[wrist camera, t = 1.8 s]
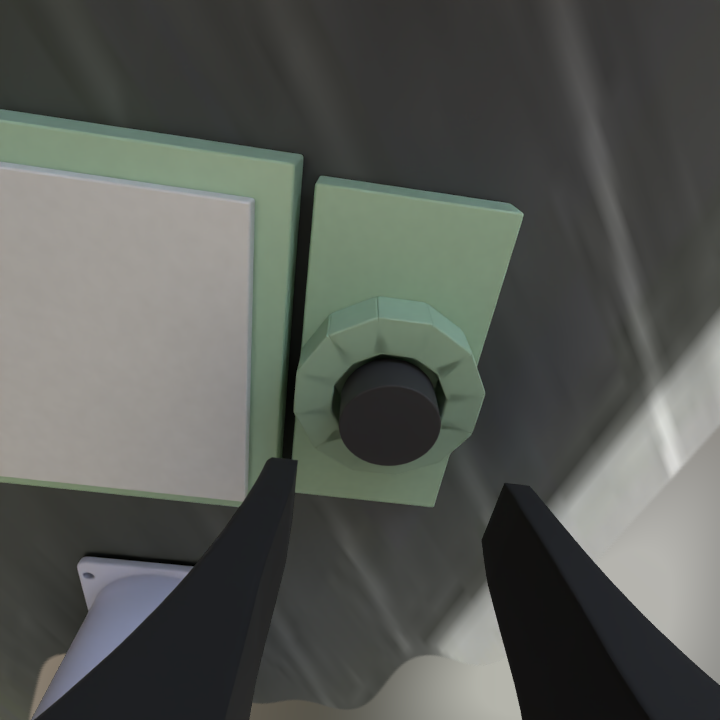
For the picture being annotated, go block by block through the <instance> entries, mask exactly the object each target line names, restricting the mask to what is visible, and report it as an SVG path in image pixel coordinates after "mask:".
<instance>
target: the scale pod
mask: <svg viewBox="0 0 720 720" xmlns="http://www.w3.org/2000/svg"><path fill="white" fill-rule="evenodd" d="M522 219H523V213H522V212H521V211H519V210H518V209H517V208H515V207H514V206H513V205H512V204H510V203H503V202H497V201H490V200H483V199H476V198H470V197H463V196H456V195H449V194H443V193H436V192H429V191H423V190H416V189H409V188H402V187H396V186H389V185H382V184H375V183H369V182H362V181H355V180H348V179H342V178H335V177H328V176H320V177H319V179H318V180H317V182H316V184H315V191H314V203H313V215H312V226H311V238H310V250H309V261H308V273H307V285H306V297H305V308H304V320H303V332H302V343H301V355H300V360H299V364H298V368H297V372H296V384H295V396H294V408H293V412H294V414H295V425H294V437H293V449H292V459H293V460H298V465H297V475H296V486H295V493H304V494H314V495H323V496H332V497H342V498H351V499H360V500H370V501H379V502H388V503H398V504H407V505H416V506H426V507H434V504H435V501H436V498H437V494H438V491H439V488H440V485H441V481H442V478H443V475H444V472H445V469H446V465H447V462H448V459H449V456H450V453H451V452H453V451H454V450H455V449H456V448H457V447H458V446H460V445H461V444H462V443H463V442H464V441H465V440H466V439H468V438H469V437H470V436H471V435H472V432H473V430H474V427H475V424H476V421H477V418H478V415H479V412H480V409H481V406H482V403H483V400H484V397H485V390H484V387H483V384H482V381H481V378H480V375H479V372H478V369H477V365H478V362H479V358H480V355H481V352H482V349H483V345H484V342H485V339H486V336H487V333H488V329H489V326H490V323H491V320H492V316H493V313H494V310H495V307H496V303H497V300H498V297H499V294H500V290H501V287H502V284H503V281H504V277H505V274H506V271H507V268H508V265H509V261H510V258H511V255H512V252H513V248H514V245H515V242H516V239H517V235H518V232H519V229H520V226H521V222H522ZM388 358H391V359H399V360H404V361H407V362H409V363H412V364H414V365H415V366H417V367H419V368H420V369H421V370H422V371H424V373H425V374H426V375H427V376H428V377H429V379H430V380H431V382H432V385H433V388H434V392H435V396H436V400H437V405H438V409H439V413H440V418H441V429H440V434H439V436H438V439H437V441H436V442H435V444H434V445H433V447H432V448H431V449H430V450H429V451H428V452H427V453H426V454H424V455H423V456H422V457H420V458H418V459H416V460H414V461H412V462H409V463H406V464H402V465H396V466H381V465H375V464H372V463H368V462H366V461H364V460H362V459H360V458H358V457H357V456H355V455H354V454H353V453H351V452H350V451H349V450H348V448H347V447H346V446H345V444H344V443H343V441H342V439H341V436H340V433H339V416H340V403H341V393H342V388H343V386H344V383H345V382H346V380H347V378H348V377H349V376H350V375H351V374H352V373H353V372H354V371H355V370H356V369H357V368H359V367H360V366H362V365H364V364H366V363H368V362H371V361H374V360H378V359H388Z"/></svg>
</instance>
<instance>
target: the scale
mask: <svg viewBox="0 0 720 720" xmlns="http://www.w3.org/2000/svg"><path fill="white" fill-rule="evenodd" d="M303 159H304V158H303V155H301V154H295V153H289V152H282V151H275V150H269V149H262V148H255V147H249V146H242V145H235V144H229V143H222V142H216V141H209V140H202V139H196V138H189V137H182V136H176V135H169V134H162V133H156V132H149V131H143V130H136V129H129V128H123V127H116V126H109V125H103V124H96V123H89V122H83V121H76V120H70V119H63V118H56V117H50V116H43V115H36V114H30V113H23V112H16V111H10V110H3V109H0V482H4V483H14V484H23V485H33V486H42V487H52V488H62V489H71V490H81V491H90V492H100V493H109V494H119V495H128V496H138V497H148V498H157V499H167V500H176V501H186V502H195V503H205V504H215V505H224V506H234V507H240V505H241V504H242V503H243V501H244V499H245V498H246V496H247V495H248V493H249V492H250V490H251V489H252V487H253V485H254V484H255V482H256V480H257V478H258V477H259V475H260V473H261V471H262V469H263V467H264V465H265V463H266V461H267V460H268V459H270V458H271V457H275V458H282V452H283V439H284V425H285V411H286V397H287V383H288V369H289V355H290V341H291V327H292V313H293V299H294V285H295V271H296V257H297V243H298V229H299V215H300V201H301V187H302V173H303Z"/></svg>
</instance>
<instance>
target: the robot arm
mask: <svg viewBox="0 0 720 720" xmlns="http://www.w3.org/2000/svg"><path fill="white" fill-rule="evenodd" d="M297 465H298V460H293V459H284V458H275V457H271V458H270V459H268V460H267V461H266V463H265V465H264V467H263V469H262V471H261V473H260V475H259V477H258V478H257V480H256V482H255V484H254V485H253V487H252V489H251V490H250V492H249V493H248V495H247V496H246V498H245V499H244V501H243V503H242V504H241V505H240V507H239V508H238V510H237V511H236V512H235V514H234V515H233V517H232V518H231V520H230V521H229V522H228V524H227V525H226V527H225V528H224V529H223V531H222V532H221V533H220V535H219V536H218V537H217V538H216V540H215V541H214V542H213V543H212V545H211V546H210V547H209V549H208V550H207V551H206V552H205V554H204V555H203V556H202V557H201V559H200V560H199V561H198V562H197V563H196V565H195V566H184V565H174V564H164V563H153V562H143V561H133V560H122V559H112V558H101V557H91V556H86V557H83V558H82V559H81V560H80V561H79V563H78V565H77V569H78V573H79V577H80V581H81V585H82V589H83V592H84V596H85V600H86V604H87V608H88V614H87V616H86V617H85V619H84V621H83V623H82V625H81V627H80V629H79V631H78V633H77V634H76V636H75V638H74V640H73V642H72V644H71V646H70V648H69V649H68V651H67V653H66V655H65V657H64V659H63V661H62V663H61V664H60V666H59V668H58V670H57V672H56V674H55V676H54V678H53V679H52V681H51V683H50V685H49V687H48V689H47V691H46V693H45V695H44V696H43V698H42V700H41V702H40V704H39V706H38V708H37V710H36V711H35V713H34V715H33V717H32V719H31V720H249V717H250V712H251V706H252V700H253V695H254V689H255V684H256V679H257V675H258V670H259V666H260V661H261V657H262V654H263V650H264V646H265V642H266V638H267V634H268V630H269V626H270V622H271V618H272V615H273V611H274V607H275V603H276V599H277V595H278V591H279V587H280V583H281V579H282V575H283V571H284V567H285V563H286V557H287V551H288V545H289V538H290V532H291V525H292V518H293V507H294V496H295V486H296V475H297ZM482 547H483V555H484V563H485V569H486V576H487V582H488V587H489V591H490V595H491V598H492V602H493V606H494V610H495V614H496V617H497V621H498V625H499V628H500V632H501V636H502V640H503V643H504V647H505V651H506V654H507V658H508V662H509V665H510V669H511V673H512V676H513V680H514V684H515V688H516V693H517V697H518V701H519V706H520V710H521V716H522V720H720V685H719V684H718V683H716V682H715V681H714V680H713V679H712V678H711V677H709V676H708V675H707V674H706V673H705V672H704V671H703V670H701V669H700V668H699V667H698V666H697V665H695V663H694V662H692V661H691V660H690V659H689V658H688V657H687V656H686V655H685V654H684V653H683V652H682V651H681V650H679V649H678V648H677V647H676V646H675V645H674V644H673V643H672V642H671V641H670V640H669V639H668V638H667V637H666V636H665V635H664V634H662V633H661V632H660V631H659V630H658V629H657V628H656V627H655V626H654V625H653V624H652V623H651V622H650V621H649V620H648V619H647V618H646V617H645V616H643V614H642V613H641V612H640V611H639V610H638V609H637V608H636V607H635V606H634V605H633V604H632V603H631V602H630V601H629V600H628V599H627V597H626V596H625V595H624V594H623V593H622V592H621V591H620V590H619V589H618V588H617V587H616V586H615V585H614V584H613V583H612V582H611V581H610V579H609V578H608V577H607V576H606V575H605V574H604V573H603V572H602V571H601V569H600V568H599V567H598V566H597V565H596V564H595V563H594V562H593V560H592V559H591V558H590V557H589V556H588V555H587V554H586V552H585V551H584V550H583V549H582V548H581V547H580V545H579V544H578V543H577V542H576V541H575V540H574V538H573V537H572V536H571V535H570V534H569V532H568V531H567V530H566V529H565V528H564V526H563V525H562V524H561V523H560V522H559V520H558V519H557V518H556V517H555V516H554V514H553V513H552V512H551V511H550V510H549V508H548V507H547V506H546V505H545V504H544V502H543V501H542V500H541V499H540V498H539V496H538V495H537V494H536V493H535V492H534V491H533V489H532V488H531V487H530V486H526V485H517V484H508V483H504V486H503V488H502V491H501V493H500V496H499V498H498V501H497V503H496V506H495V508H494V511H493V513H492V516H491V518H490V521H489V523H488V526H487V528H486V531H485V533H484V536H483V538H482Z"/></svg>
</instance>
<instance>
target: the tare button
mask: <svg viewBox="0 0 720 720" xmlns="http://www.w3.org/2000/svg"><path fill="white" fill-rule="evenodd" d="M440 429H441V418H440V413H439V409H438V405H437V400H436V396H435V392H434V388H433V385H432V382H431V380H430V379H429V377H428V376H427V375H426V374H425V373H424V371H422V370H421V369H420V368H419V367H417V366H415V365H414V364H412V363H409V362H407V361H404V360H399V359H391V358H388V359H378V360H374V361H371V362H368V363H366V364H364V365H362V366H360V367H359V368H357V369H356V370H355V371H354V372H353V373H352V374H351V375H350V376H349V377H348V378H347V380H346V382H345V383H344V386H343V388H342V393H341V403H340V416H339V433H340V436H341V439H342V441H343V443H344V444H345V446H346V447H347V448H348V450H349V451H350V452H351V453H353V454H354V455H355V456H357V457H358V458H360V459H362V460H364V461H366V462H368V463H372V464H375V465H381V466H396V465H402V464H406V463H409V462H412V461H414V460H416V459H418V458H420V457H422V456H423V455H424V454H426V453H427V452H428V451H429V450H430V449H431V448H432V447H433V445H434V444H435V442H436V441H437V439H438V436H439V434H440Z"/></svg>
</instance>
